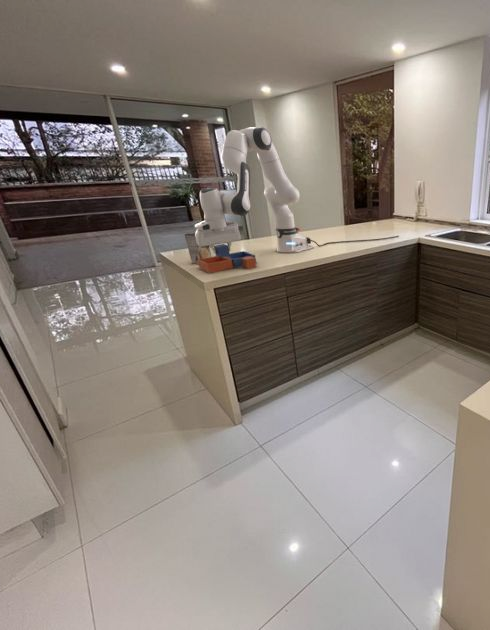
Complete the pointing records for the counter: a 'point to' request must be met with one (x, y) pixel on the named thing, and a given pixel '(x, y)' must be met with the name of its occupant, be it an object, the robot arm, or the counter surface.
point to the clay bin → (215, 264)
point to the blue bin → (239, 258)
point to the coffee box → (196, 248)
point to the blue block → (222, 250)
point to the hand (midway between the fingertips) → (222, 252)
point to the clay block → (248, 262)
